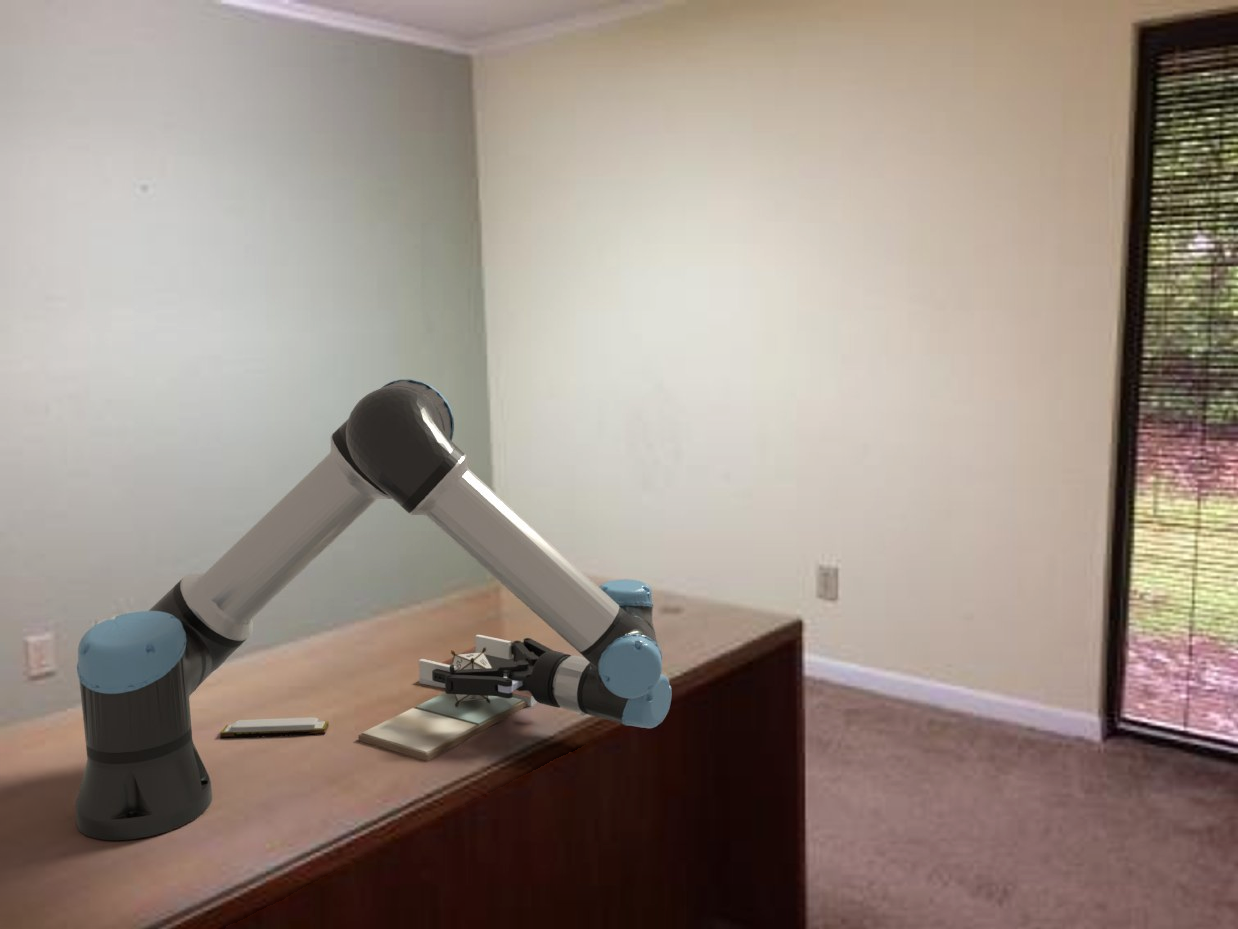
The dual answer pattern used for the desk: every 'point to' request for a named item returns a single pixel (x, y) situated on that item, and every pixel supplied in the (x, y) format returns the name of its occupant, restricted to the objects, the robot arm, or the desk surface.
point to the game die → (470, 662)
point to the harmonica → (274, 728)
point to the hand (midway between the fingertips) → (449, 655)
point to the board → (439, 724)
